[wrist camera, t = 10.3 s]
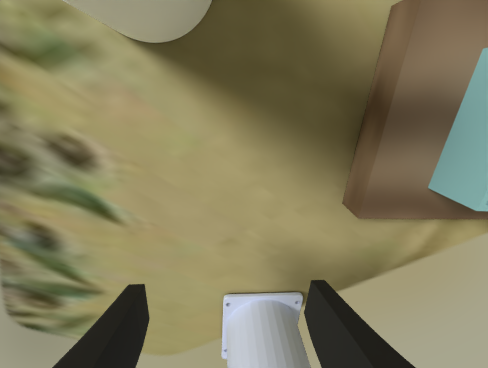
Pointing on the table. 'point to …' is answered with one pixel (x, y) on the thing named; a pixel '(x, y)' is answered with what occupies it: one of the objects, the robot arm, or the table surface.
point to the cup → (146, 16)
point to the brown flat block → (415, 109)
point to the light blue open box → (467, 147)
